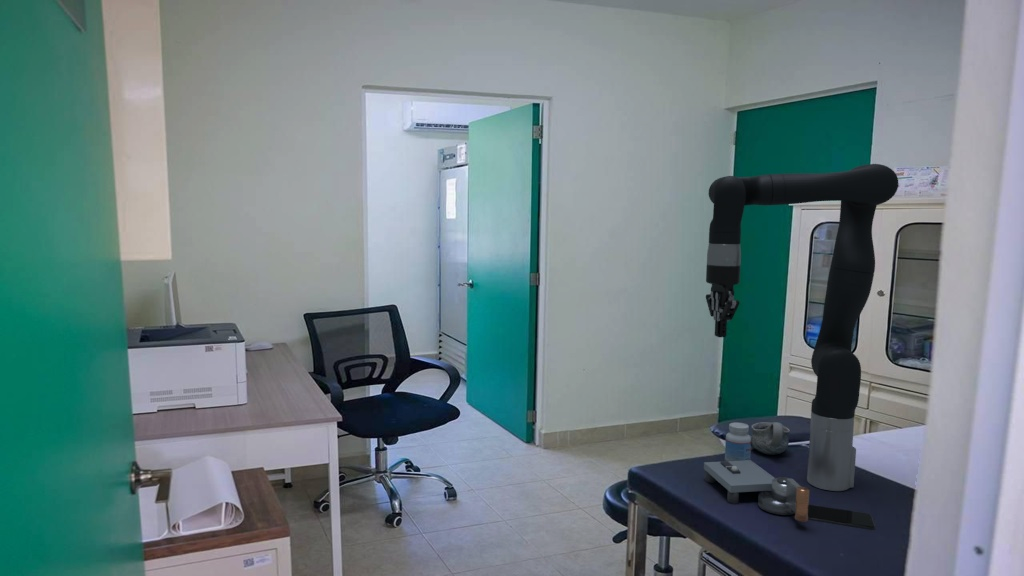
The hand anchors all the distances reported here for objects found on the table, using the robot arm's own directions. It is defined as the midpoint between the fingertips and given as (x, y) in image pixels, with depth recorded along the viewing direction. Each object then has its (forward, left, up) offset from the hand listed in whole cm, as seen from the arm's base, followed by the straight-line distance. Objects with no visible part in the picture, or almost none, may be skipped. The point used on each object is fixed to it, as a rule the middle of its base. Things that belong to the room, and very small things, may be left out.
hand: (720, 336), depth 158 cm
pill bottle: (-9, -6, -35) cm, 37 cm away
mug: (-23, -14, -35) cm, 44 cm away
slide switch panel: (-4, +6, -35) cm, 36 cm away
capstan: (-6, +20, -35) cm, 40 cm away
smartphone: (-17, +22, -36) cm, 45 cm away
